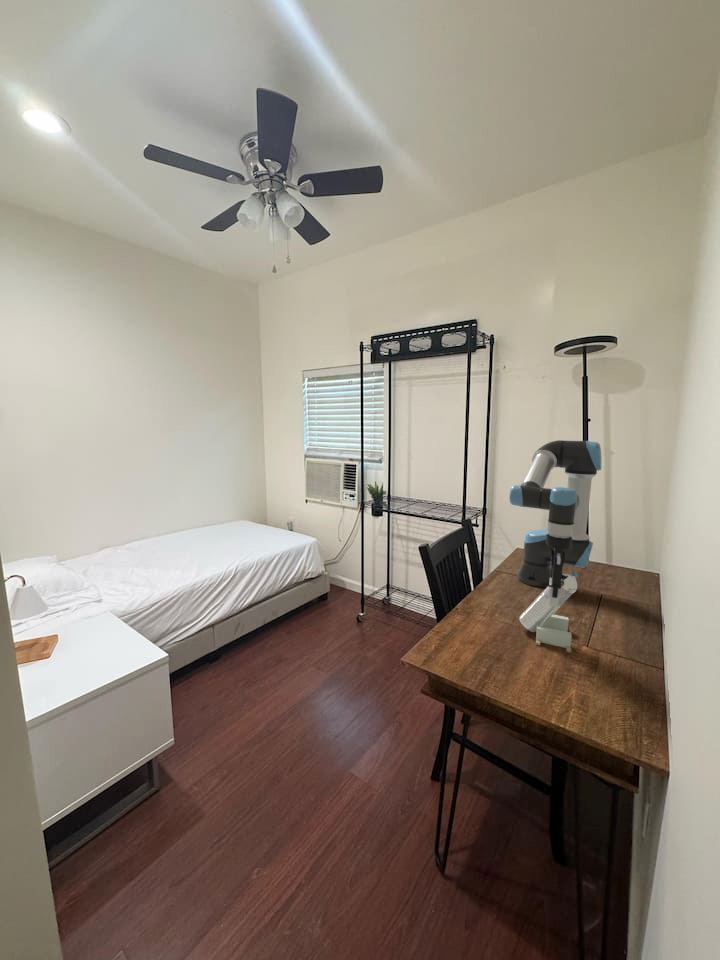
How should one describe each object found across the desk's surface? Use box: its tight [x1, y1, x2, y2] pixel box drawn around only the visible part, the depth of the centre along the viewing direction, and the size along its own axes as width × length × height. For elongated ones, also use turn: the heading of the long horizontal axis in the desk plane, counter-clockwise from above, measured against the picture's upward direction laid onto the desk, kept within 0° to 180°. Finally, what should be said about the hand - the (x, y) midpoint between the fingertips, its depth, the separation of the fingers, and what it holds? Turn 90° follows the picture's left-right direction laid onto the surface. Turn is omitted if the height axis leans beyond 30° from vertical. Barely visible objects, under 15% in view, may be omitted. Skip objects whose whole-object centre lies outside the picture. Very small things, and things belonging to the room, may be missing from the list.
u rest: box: [535, 614, 573, 653], centre depth 129 cm, size 10×18×4 cm, turn 156°
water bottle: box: [518, 570, 579, 633], centre depth 129 cm, size 7×7×25 cm
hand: (553, 600), depth 128 cm, fingers closed on water bottle, 7 cm apart
